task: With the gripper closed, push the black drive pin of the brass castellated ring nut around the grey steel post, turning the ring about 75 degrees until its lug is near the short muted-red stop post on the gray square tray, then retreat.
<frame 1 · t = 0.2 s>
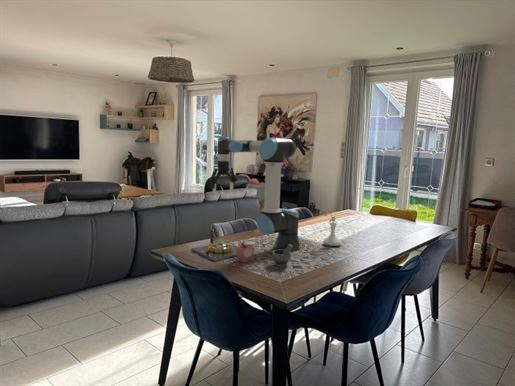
hand: (223, 192, 255), 28 cm above the table, fingers open, 13 cm apart
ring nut: (219, 240, 218), point 6 cm above the table, hinge at 0.0°
mortar and pestle: (282, 265, 198), on the table
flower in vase: (331, 245, 238), on the table
pink mug: (244, 261, 203), on the table
gray square tray: (220, 251, 218), on the table
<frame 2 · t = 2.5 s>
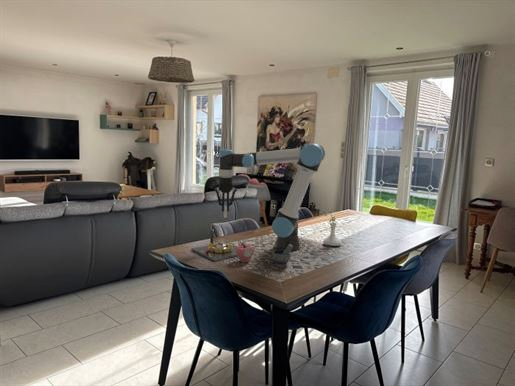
hand: (225, 217, 224), 18 cm above the table, fingers closed
nothing on the table moved.
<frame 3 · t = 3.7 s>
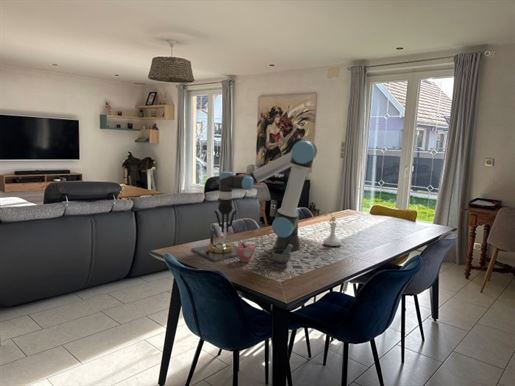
hand: (224, 237, 226), 6 cm above the table, fingers closed
nothing on the table moved.
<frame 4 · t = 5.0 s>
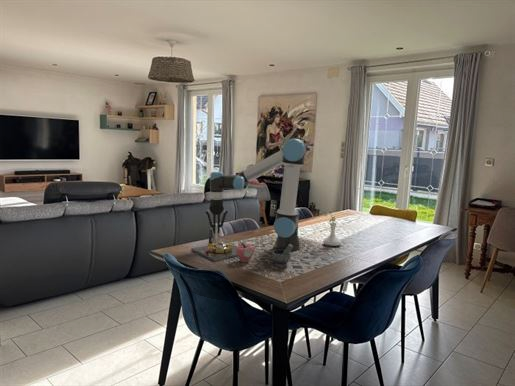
hand: (216, 238, 225), 6 cm above the table, fingers closed
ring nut: (218, 240, 218), point 6 cm above the table, hinge at 7.3°, touching gripper
everything else where it was.
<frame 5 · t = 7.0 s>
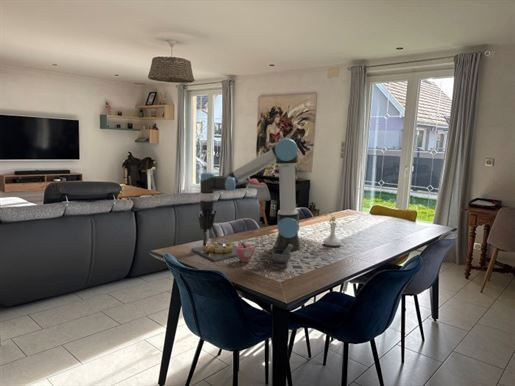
hand: (206, 240, 221), 5 cm above the table, fingers closed
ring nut: (217, 241, 217), point 6 cm above the table, hinge at 47.6°, touching gripper
everything else where it was.
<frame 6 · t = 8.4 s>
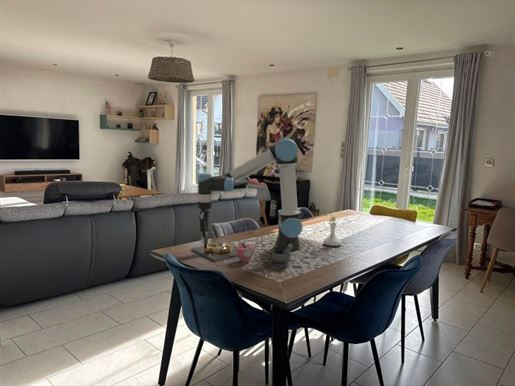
hand: (204, 242, 216), 6 cm above the table, fingers closed
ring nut: (217, 241, 216), point 6 cm above the table, hinge at 79.2°, touching gray square tray, gripper
everything else where it was.
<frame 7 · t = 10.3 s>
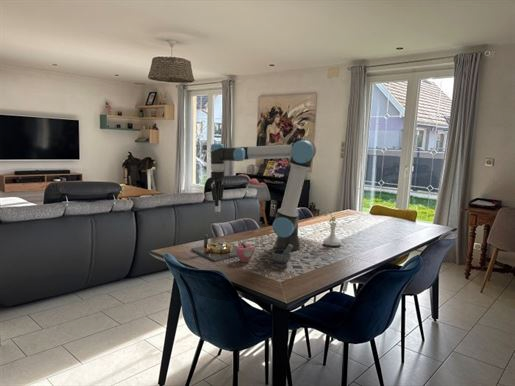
hand: (217, 211, 224), 21 cm above the table, fingers closed
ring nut: (217, 241, 216), point 6 cm above the table, hinge at 79.2°, touching gray square tray
everything else where it was.
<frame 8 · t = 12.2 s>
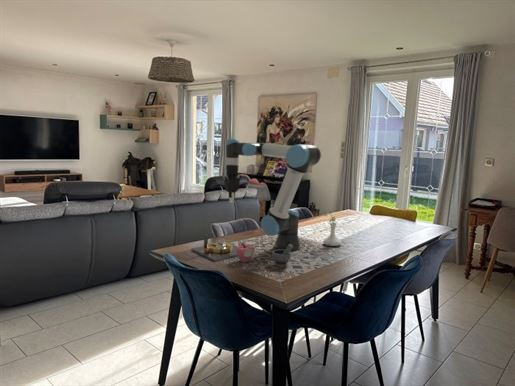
hand: (231, 202, 237), 24 cm above the table, fingers closed
nothing on the table moved.
at the end: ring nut at +79° (first picture: +0°) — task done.
